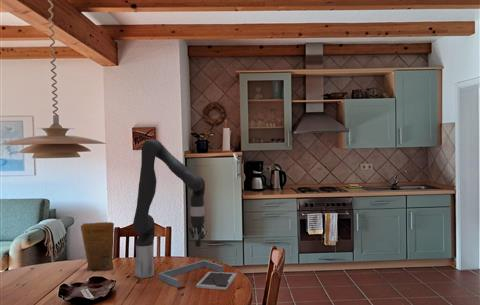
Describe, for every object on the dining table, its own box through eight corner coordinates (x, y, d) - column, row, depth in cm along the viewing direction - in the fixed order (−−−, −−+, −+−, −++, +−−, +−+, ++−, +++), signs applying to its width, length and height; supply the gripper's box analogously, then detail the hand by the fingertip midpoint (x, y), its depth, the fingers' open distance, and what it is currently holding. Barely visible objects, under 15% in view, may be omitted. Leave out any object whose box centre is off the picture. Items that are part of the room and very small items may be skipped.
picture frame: (226, 291, 189) (236, 276, 209) (226, 285, 189) (236, 271, 209) (195, 289, 193) (208, 275, 213) (195, 283, 193) (208, 270, 213)
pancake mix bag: (112, 272, 220) (111, 223, 219) (81, 271, 222) (79, 223, 221) (117, 268, 226) (116, 220, 226) (87, 267, 228) (85, 220, 228)
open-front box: (176, 287, 193) (176, 280, 193) (158, 279, 205) (158, 273, 205) (223, 272, 215) (223, 265, 215) (204, 265, 227) (204, 259, 227)
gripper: (184, 213, 207) (184, 245, 208) (199, 217, 198) (200, 250, 198) (195, 212, 213) (195, 243, 213) (210, 214, 203) (211, 247, 203)
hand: (198, 246), depth 206 cm, fingers closed
